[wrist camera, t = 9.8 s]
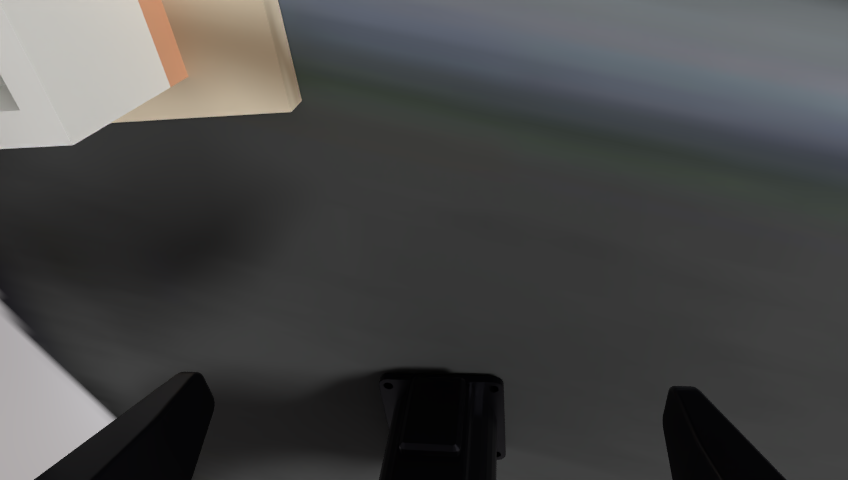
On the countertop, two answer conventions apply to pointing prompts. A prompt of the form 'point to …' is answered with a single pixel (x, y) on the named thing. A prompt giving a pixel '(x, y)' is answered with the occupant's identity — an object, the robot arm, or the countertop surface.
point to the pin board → (226, 62)
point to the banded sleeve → (80, 66)
